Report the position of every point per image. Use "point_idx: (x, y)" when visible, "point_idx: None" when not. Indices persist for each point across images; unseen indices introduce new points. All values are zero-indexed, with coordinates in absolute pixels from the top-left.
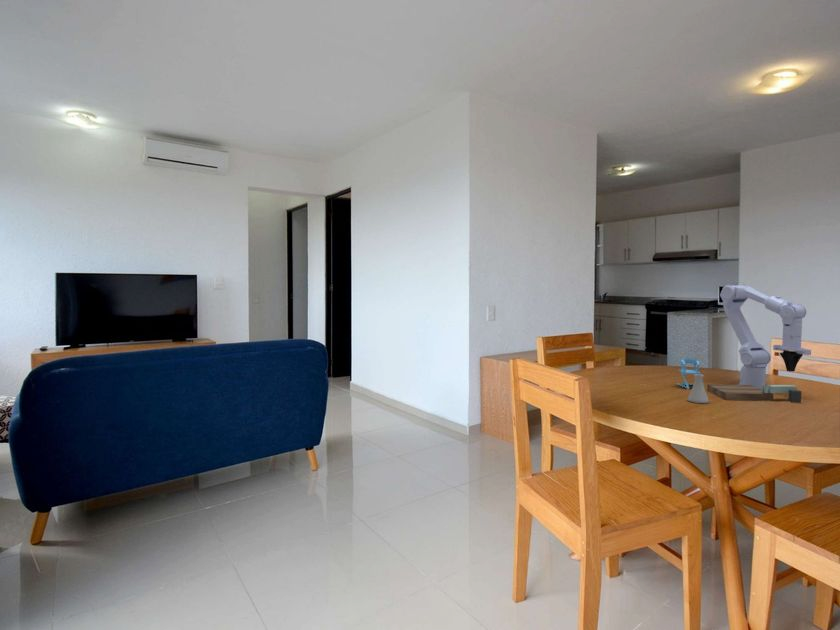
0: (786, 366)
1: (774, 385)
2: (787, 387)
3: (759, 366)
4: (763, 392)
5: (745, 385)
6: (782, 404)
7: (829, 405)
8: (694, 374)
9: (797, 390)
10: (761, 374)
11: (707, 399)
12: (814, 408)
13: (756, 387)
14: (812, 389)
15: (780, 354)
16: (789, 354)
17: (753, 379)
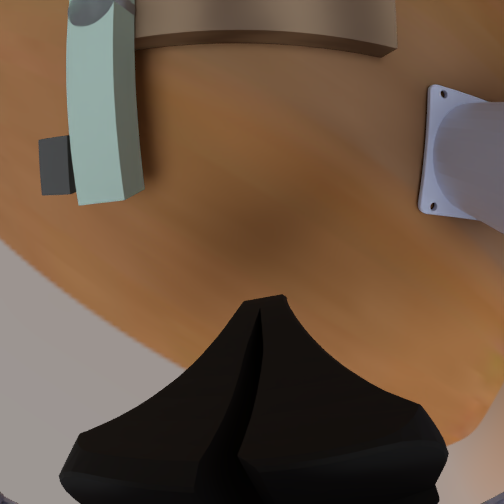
0: (277, 316)
1: (98, 53)
2: (74, 134)
3: None
4: (135, 4)
5: (374, 4)
6: (47, 73)
7: (62, 281)
8: None
9: (59, 184)
10: (487, 174)
11: None
12: (4, 183)
13: (308, 31)
14: None
15: (403, 408)
16: (71, 457)
17: (474, 118)
